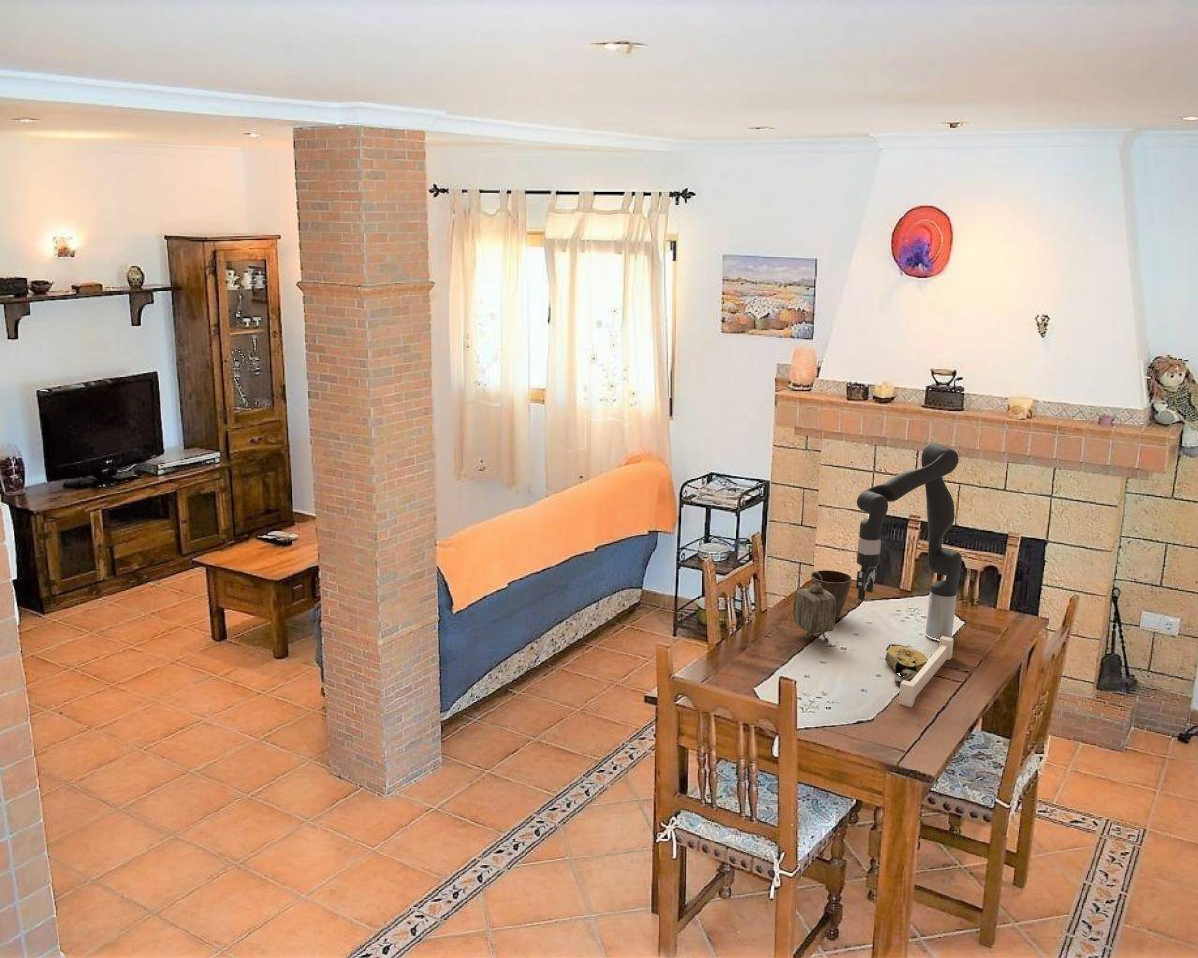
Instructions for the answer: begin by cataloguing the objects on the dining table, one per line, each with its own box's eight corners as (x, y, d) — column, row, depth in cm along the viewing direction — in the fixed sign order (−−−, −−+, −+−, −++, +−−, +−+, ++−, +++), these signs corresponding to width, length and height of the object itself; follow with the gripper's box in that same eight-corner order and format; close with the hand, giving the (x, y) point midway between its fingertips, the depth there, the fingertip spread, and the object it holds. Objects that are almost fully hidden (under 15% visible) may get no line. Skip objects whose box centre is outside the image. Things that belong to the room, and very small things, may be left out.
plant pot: (801, 610, 422) (804, 571, 418) (835, 607, 427) (839, 568, 423) (820, 624, 408) (823, 584, 405) (855, 621, 413) (859, 581, 409)
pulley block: (884, 668, 355) (888, 635, 383) (880, 684, 357) (884, 650, 385) (928, 680, 352) (929, 646, 380) (924, 696, 353) (925, 661, 381)
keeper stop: (940, 654, 383) (942, 635, 382) (951, 657, 381) (953, 638, 380) (898, 703, 344) (900, 683, 342) (911, 707, 342) (913, 686, 340)
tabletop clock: (833, 643, 391) (838, 577, 385) (811, 646, 387) (816, 580, 381) (811, 629, 404) (816, 565, 398) (790, 632, 400) (794, 567, 394)
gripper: (864, 542, 375) (861, 587, 379) (850, 553, 363) (847, 599, 367) (886, 546, 371) (882, 591, 375) (873, 557, 359) (869, 604, 363)
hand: (865, 595), depth 371 cm, fingers open, 8 cm apart
